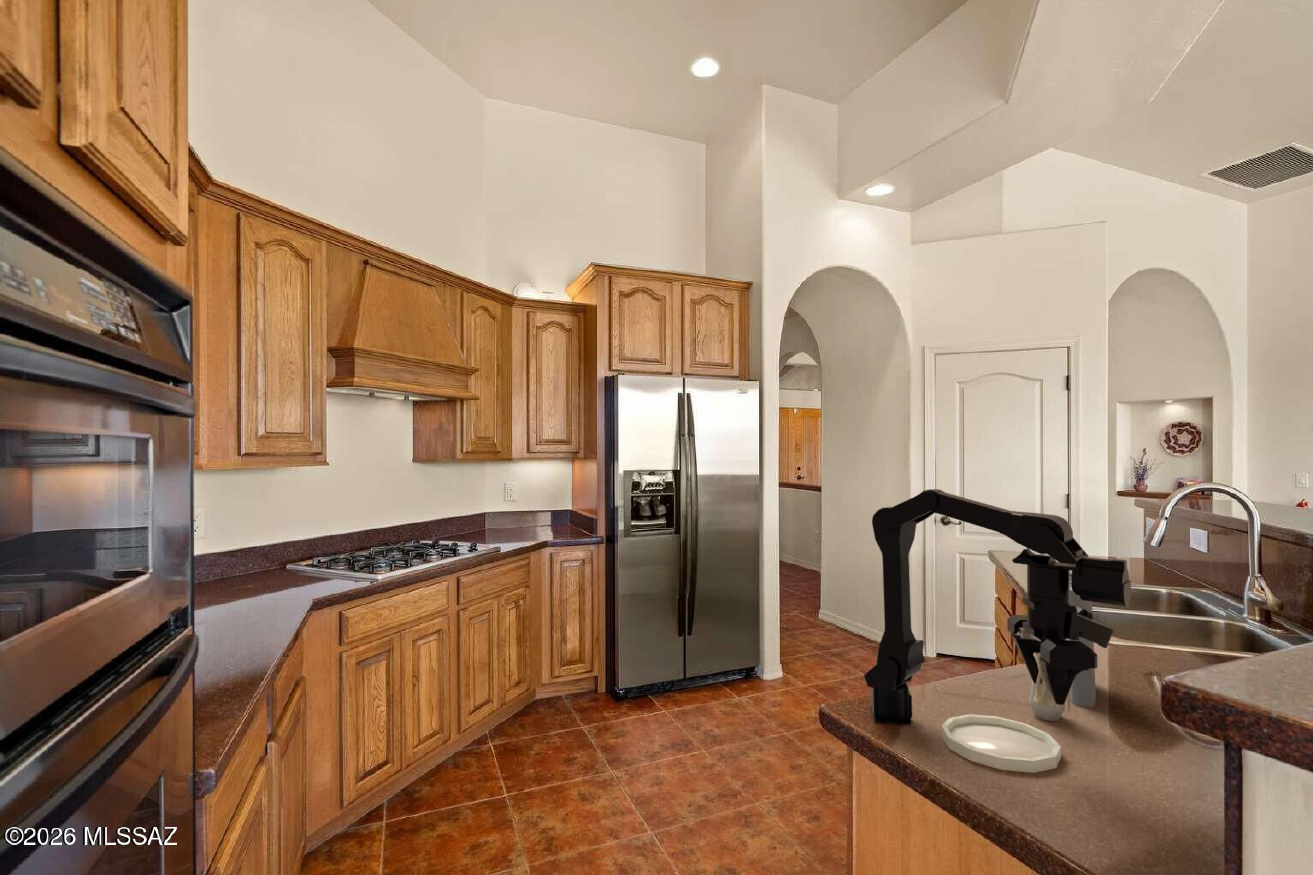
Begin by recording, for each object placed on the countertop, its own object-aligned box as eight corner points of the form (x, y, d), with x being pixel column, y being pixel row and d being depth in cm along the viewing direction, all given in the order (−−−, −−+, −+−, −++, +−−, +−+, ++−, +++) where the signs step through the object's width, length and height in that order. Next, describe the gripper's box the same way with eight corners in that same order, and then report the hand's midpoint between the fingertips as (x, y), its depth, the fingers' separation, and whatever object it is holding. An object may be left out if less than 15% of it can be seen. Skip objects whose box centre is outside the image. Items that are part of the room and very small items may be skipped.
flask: (1100, 709, 118) (1095, 579, 119) (1071, 704, 120) (1067, 577, 122) (1090, 681, 133) (1085, 566, 134) (1064, 677, 135) (1060, 564, 137)
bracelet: (1033, 710, 94) (1033, 658, 94) (1033, 693, 101) (1033, 645, 101) (1064, 717, 92) (1064, 664, 92) (1062, 699, 99) (1062, 649, 99)
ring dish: (958, 765, 96) (958, 754, 96) (933, 721, 113) (933, 711, 113) (1079, 776, 93) (1078, 764, 93) (1034, 729, 109) (1034, 718, 109)
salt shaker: (1071, 724, 111) (1068, 652, 112) (1036, 721, 112) (1034, 650, 113) (1057, 711, 117) (1054, 643, 118) (1024, 709, 118) (1022, 641, 119)
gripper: (1138, 613, 86) (1139, 724, 86) (1077, 585, 104) (1077, 677, 104) (1051, 607, 88) (1051, 716, 88) (1006, 581, 107) (1006, 671, 106)
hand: (1048, 693), depth 96 cm, fingers closed on bracelet, 8 cm apart
